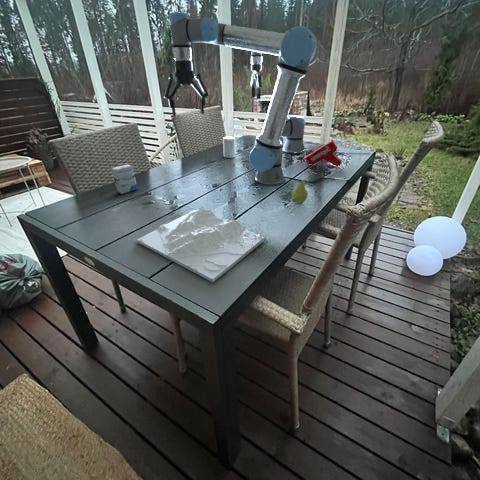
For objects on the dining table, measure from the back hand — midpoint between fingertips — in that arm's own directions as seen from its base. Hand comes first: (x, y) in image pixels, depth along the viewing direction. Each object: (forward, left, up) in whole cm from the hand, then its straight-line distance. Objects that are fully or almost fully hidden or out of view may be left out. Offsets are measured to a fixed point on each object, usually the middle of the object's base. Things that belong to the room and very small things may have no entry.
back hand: (255, 98), depth 201 cm
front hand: (+57, +76, +1) cm, 95 cm away
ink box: (+91, +80, -31) cm, 125 cm away
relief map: (+62, +136, -31) cm, 153 cm away
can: (+29, +35, -31) cm, 55 cm away
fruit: (+15, +115, -31) cm, 120 cm away
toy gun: (-20, +72, -31) cm, 81 cm away
